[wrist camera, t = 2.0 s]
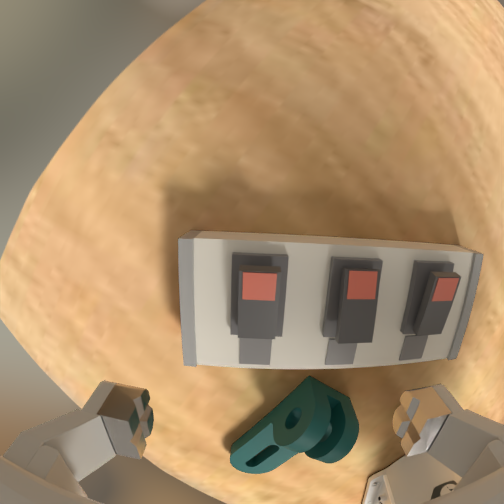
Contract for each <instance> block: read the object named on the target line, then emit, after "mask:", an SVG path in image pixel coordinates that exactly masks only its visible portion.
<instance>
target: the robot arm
mask: <svg viewBox="0 0 504 504" xmlns="http://www.w3.org/2000/svg"><path fill="white" fill-rule="evenodd" d="M149 400H150V396H149V392H148V390H147V389H143V388H138V387H133V386H128V385H124V384H119V383H113V382H109V381H105V380H104V381H102V382H100V384H99V385H98V387H97V388H96V389H95V391H94V392H93V394H92V395H91V397H90V398H89V400H88V401H87V402H86V404H85V405H84V407H83V408H82V410H79V409H76V410H74V411H72V412H69V413H67V414H65V415H62V416H60V417H58V418H55V419H53V420H50V421H48V422H46V423H43V424H41V425H38V426H36V427H33V428H30V429H28V430H26V431H23V432H21V433H20V434H19V436H18V437H17V438H16V439H15V441H14V442H13V443H12V445H11V446H10V447H9V449H8V450H7V451H6V453H5V454H4V455H3V457H2V456H1V455H0V504H103V503H100V502H97V501H94V500H91V499H89V498H87V495H86V493H85V492H84V490H83V489H82V488H81V486H80V485H79V483H78V482H79V481H80V480H81V479H83V478H85V477H86V476H88V475H89V474H90V473H92V472H93V471H95V470H96V469H98V468H99V467H101V466H102V465H103V464H105V463H106V462H107V461H109V460H110V459H112V458H113V457H114V456H116V454H118V455H122V456H126V457H131V458H136V459H141V458H142V455H143V453H144V450H145V447H146V441H145V438H146V437H148V436H149V435H150V434H151V431H152V428H153V421H154V419H153V410H152V408H151V407H150V406H149V405H148V402H149ZM400 402H401V405H400V406H399V407H398V408H397V409H396V410H395V412H394V415H393V422H392V425H393V430H394V432H395V434H396V435H397V436H399V437H401V438H402V440H401V443H400V444H401V446H402V448H403V450H404V452H405V454H406V455H405V456H404V457H402V458H400V459H399V460H397V461H396V462H394V463H393V464H392V465H390V466H389V467H388V468H386V469H384V470H382V471H380V472H378V473H376V474H374V475H372V476H371V477H369V479H368V483H367V487H366V491H365V494H364V498H363V502H362V504H504V425H502V424H500V423H498V422H495V421H493V420H490V419H488V418H486V417H483V416H481V415H479V414H476V413H474V412H472V411H470V410H467V409H466V410H463V409H462V407H461V406H460V405H459V403H458V402H457V401H456V400H455V398H454V397H453V396H452V395H451V393H450V392H449V391H448V390H447V389H446V387H445V386H444V385H442V384H438V385H433V386H429V387H424V388H419V389H413V390H407V391H404V392H403V394H402V395H401V398H400ZM461 477H462V478H461Z"/></svg>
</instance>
